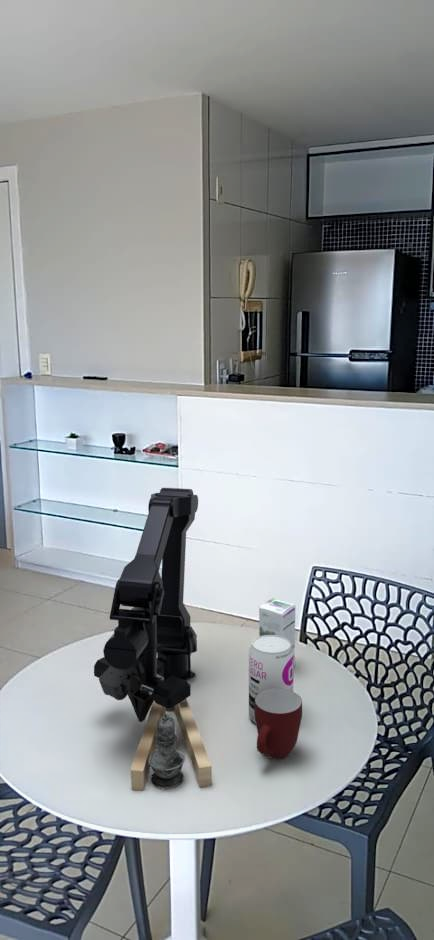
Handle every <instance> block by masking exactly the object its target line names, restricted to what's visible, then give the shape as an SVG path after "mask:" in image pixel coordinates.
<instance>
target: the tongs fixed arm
mask: <svg viewBox="0 0 434 940" xmlns="http://www.w3.org/2000/svg"><path fill="white" fill-rule="evenodd" d="M166 712H174V713H175V716H176V719H177V722H178V726H179V729H180V731H181V735H182V737H183V741H184V744H185V746H186V749H187V753H188V757H189V759H190V762H191V766H192V769H193V772H194V774H195V777H196V781H197V783H198V787H199V788H202V787H209V786H213V784H212V783H213V782H212V763H211V762H210V759H209V756H208V753H207V750H206V748H205V746H204V743H203V740H202V736H201V734H200V731H199V729H198V726H197V723H196V720H195V718H194V715H193V712H192V710H191V706H190V703H189V701H188V698H186V699H185V700H183V701H182V702H180V703H179V704H177V705H176V706H174V707H173V708H166Z"/></svg>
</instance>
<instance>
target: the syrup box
mask: <svg viewBox="0 0 434 940" xmlns="http://www.w3.org/2000/svg"><path fill="white" fill-rule="evenodd" d="M258 608H259V609H258V610H259V611H258V618H259V619H258V620H259V621H258V622H259V623H258V625H259V627H258V629H259V632H258V633H259V636H258V637H260V636H264V635H277V636H281V637H284V638H286V639H288V640H289V642H290V644H291V646H292V648H293V650H294V667H295V666H296V665H295V664H296V663H295V662H296V651H295V649H296V604H295V603H291V602H287V601H284V600H279V599H276V598H271V599H268V600H267V601H265V602H264V603H262V604H261V606H259V607H258Z"/></svg>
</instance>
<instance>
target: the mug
mask: <svg viewBox="0 0 434 940" xmlns="http://www.w3.org/2000/svg"><path fill="white" fill-rule="evenodd" d="M254 713H255V721H256V723H255V726H256V729H257V739H256V749H257V752H258V753H260V754H261V755H266V756H268V757H269V758H271V759H273V760H284V759H286V758H288V757H289V756H290V754H291V752H292V751H293V750H294V748H295V746H296V744H297V741H298V738H299V737H298V736H299V733H300V728H301V723H302V718H303V699H302V698H301V696H300V695H299V694H298V693H296V692H294V690H293V691H290V690H287V689H280V688H274V689H267V690H264V691H262V692H260V693H259V694H257V696H256V697H255V704H254Z"/></svg>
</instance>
